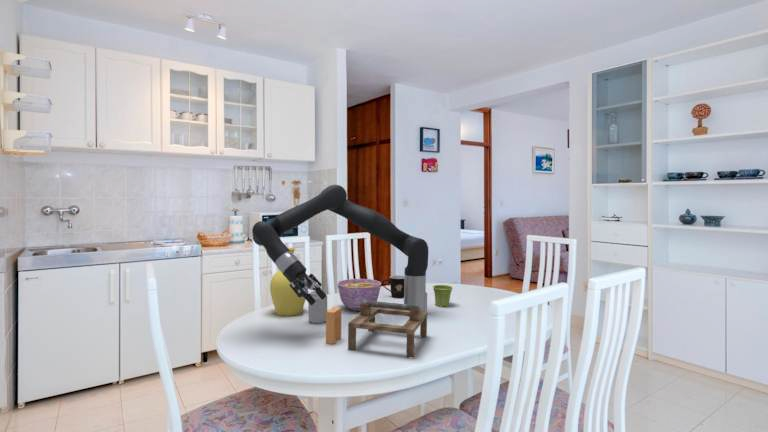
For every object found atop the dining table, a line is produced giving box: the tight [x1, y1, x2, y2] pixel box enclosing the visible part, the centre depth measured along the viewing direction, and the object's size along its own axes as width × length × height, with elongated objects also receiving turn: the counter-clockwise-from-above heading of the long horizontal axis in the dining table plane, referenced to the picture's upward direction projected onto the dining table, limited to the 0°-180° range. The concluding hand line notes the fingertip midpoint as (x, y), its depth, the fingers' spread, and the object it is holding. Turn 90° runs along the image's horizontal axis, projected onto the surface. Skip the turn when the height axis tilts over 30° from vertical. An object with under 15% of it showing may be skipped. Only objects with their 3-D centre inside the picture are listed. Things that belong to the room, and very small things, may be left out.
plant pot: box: [432, 284, 454, 308], centre depth 198 cm, size 9×9×9 cm
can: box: [307, 290, 328, 325], centre depth 170 cm, size 8×8×12 cm
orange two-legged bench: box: [325, 306, 342, 345], centre depth 148 cm, size 3×6×11 cm, turn 163°
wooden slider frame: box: [347, 300, 428, 358], centre depth 147 cm, size 22×22×14 cm
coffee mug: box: [381, 275, 404, 299], centre depth 214 cm, size 12×9×10 cm
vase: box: [269, 247, 307, 317], centre depth 182 cm, size 16×16×28 cm
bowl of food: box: [336, 278, 382, 312], centre depth 191 cm, size 20×20×12 cm
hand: (319, 300), depth 149 cm, fingers open, 8 cm apart
